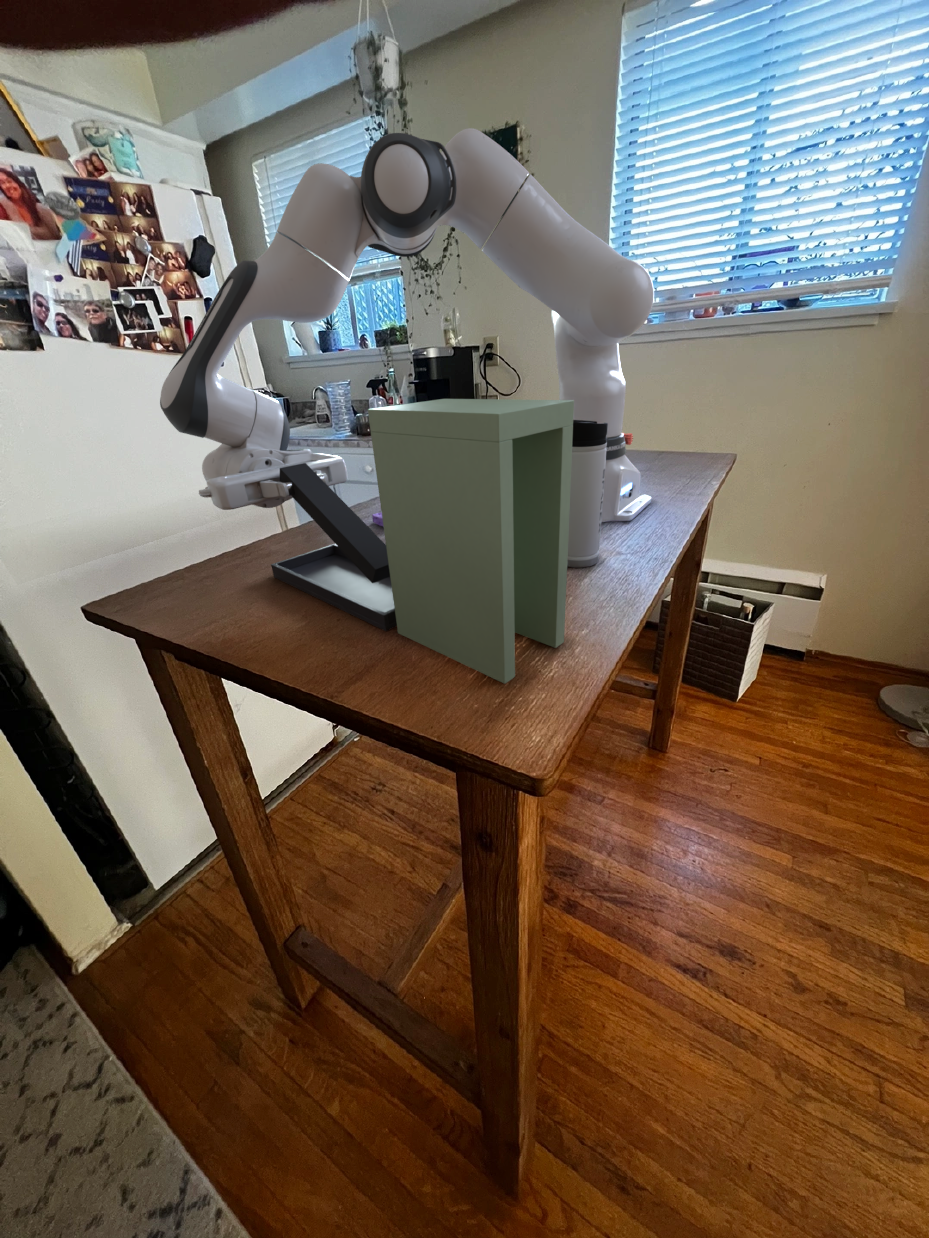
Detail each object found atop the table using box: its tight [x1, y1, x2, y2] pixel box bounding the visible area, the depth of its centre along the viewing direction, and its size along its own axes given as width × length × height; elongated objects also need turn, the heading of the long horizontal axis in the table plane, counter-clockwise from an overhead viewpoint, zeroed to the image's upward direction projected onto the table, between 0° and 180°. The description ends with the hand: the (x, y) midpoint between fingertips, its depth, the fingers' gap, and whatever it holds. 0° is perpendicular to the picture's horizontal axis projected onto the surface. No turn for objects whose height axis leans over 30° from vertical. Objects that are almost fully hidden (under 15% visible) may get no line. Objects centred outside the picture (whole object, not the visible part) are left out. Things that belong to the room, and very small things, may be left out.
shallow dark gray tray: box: [270, 543, 397, 632], centre depth 70 cm, size 11×27×2 cm, turn 46°
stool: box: [367, 398, 574, 685], centre depth 50 cm, size 10×16×24 cm, turn 46°
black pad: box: [279, 463, 390, 583], centre depth 67 cm, size 4×22×2 cm, turn 46°
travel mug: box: [567, 420, 608, 569], centre depth 70 cm, size 6×7×20 cm
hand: (307, 485), depth 69 cm, fingers closed on black pad, 4 cm apart
